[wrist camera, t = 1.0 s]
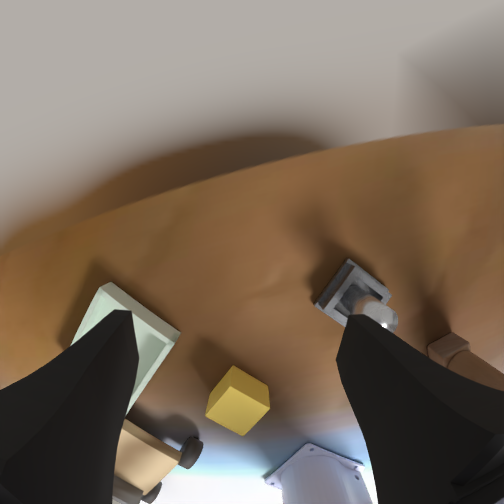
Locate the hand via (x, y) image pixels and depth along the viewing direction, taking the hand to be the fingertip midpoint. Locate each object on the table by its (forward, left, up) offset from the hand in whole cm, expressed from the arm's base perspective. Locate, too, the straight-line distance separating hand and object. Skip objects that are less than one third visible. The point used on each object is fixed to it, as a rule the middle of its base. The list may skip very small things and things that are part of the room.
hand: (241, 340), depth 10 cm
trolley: (-2, +24, -17) cm, 30 cm away
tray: (+5, +14, -17) cm, 23 cm away
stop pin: (-9, -3, -16) cm, 19 cm away
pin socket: (-9, -3, -17) cm, 19 cm away
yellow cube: (-6, +10, -17) cm, 21 cm away
